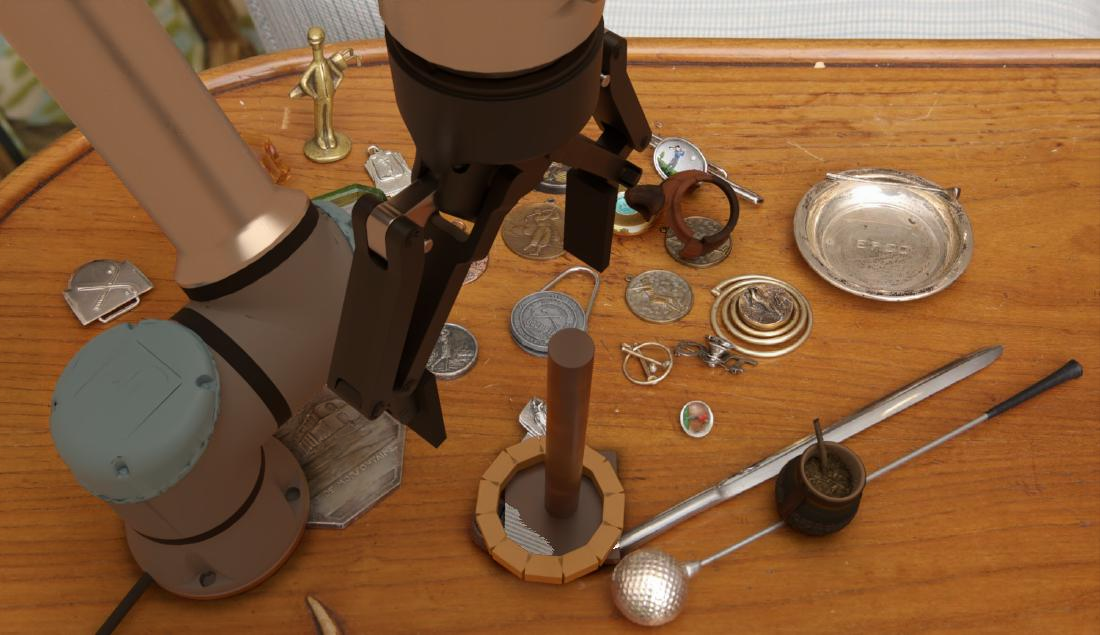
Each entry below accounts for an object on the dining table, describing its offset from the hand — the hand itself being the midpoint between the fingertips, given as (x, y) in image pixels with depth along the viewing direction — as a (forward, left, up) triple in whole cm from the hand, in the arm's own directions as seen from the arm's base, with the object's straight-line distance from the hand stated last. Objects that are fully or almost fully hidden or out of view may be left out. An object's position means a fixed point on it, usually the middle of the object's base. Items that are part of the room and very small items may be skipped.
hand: (508, 337), depth 49 cm
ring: (+4, 0, -35) cm, 35 cm away
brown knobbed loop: (+39, +10, -36) cm, 54 cm away
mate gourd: (+20, -17, -36) cm, 45 cm away
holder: (+6, 0, -36) cm, 37 cm away
